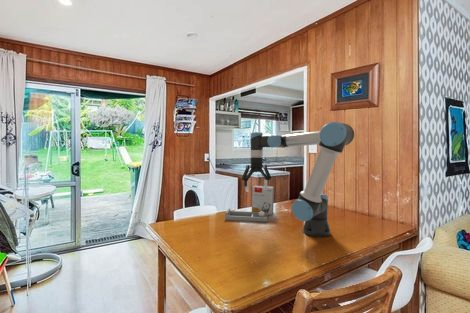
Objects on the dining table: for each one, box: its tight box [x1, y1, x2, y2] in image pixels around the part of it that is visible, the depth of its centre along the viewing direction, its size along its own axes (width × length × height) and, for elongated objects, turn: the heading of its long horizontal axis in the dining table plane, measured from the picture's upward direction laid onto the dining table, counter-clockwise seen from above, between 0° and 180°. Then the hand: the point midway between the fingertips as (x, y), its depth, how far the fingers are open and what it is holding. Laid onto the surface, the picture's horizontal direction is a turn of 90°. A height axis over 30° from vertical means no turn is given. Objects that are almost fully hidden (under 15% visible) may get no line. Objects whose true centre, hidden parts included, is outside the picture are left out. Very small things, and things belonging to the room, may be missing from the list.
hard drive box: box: [251, 185, 275, 216], centre depth 192 cm, size 16×8×20 cm, turn 73°
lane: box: [224, 207, 269, 223], centre depth 177 cm, size 28×14×5 cm, turn 81°
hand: (256, 191), depth 161 cm, fingers open, 13 cm apart
